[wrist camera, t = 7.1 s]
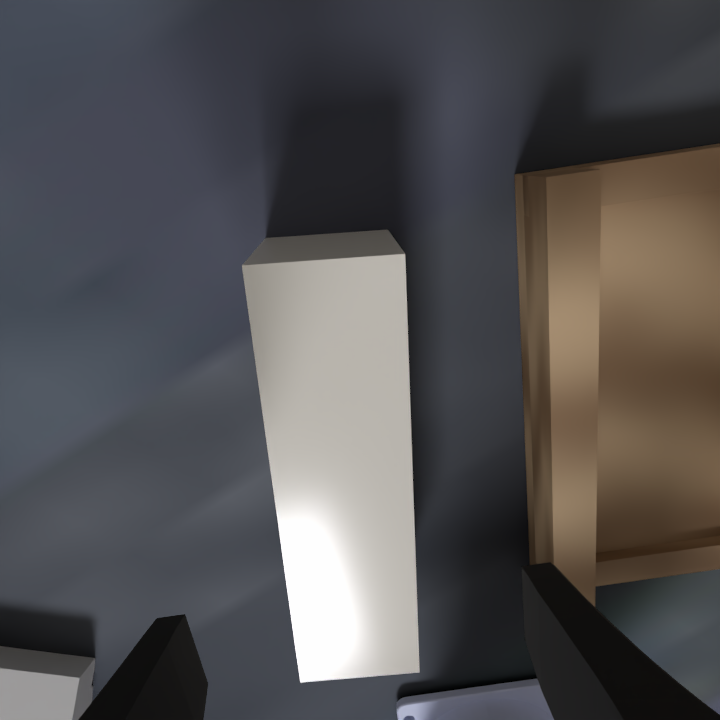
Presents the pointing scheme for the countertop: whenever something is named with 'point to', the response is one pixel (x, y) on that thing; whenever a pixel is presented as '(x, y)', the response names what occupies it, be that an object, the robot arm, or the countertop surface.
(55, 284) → the countertop surface
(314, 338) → the light grey rectangular block
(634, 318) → the oak rack
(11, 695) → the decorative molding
